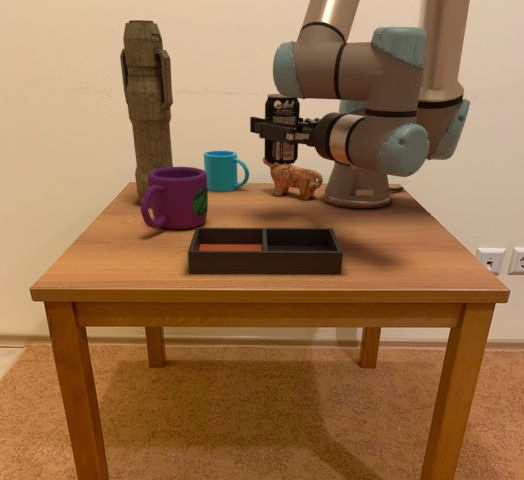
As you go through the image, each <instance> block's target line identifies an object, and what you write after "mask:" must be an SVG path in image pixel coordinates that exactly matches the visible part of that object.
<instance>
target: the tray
mask: <svg viewBox="0 0 524 480" xmlns="http://www.w3.org/2000/svg"><path fill="white" fill-rule="evenodd" d="M343 255H344V252H343V250H342V247H341V245H340V243H339V240H338V238H337V236H336V232H335V231H334V228H333V227H208V226H207V227H202V226H201V227H200V226H197V227H195V228H194V231H193V235H192V238H191V240H190V243H189V248H188V251H187V259H188V260H187V261H188V273H189V274H229V275H230V274H232V275H233V274H235V275H237V274H241V275H242V274H243V275H246V274H247V275H249V274H250V275H251V274H253V275H254V274H255V275H256V274H259V275H260V274H264V275H265V274H268V275H274V274H275V275H341V274H342V267H343Z"/></svg>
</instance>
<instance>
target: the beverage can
mask: <svg viewBox="0 0 524 480" xmlns="http://www.w3.org/2000/svg"><path fill="white" fill-rule="evenodd" d="M266 97H267V99H266V101H265V103H264V119H265V118H266V117H271V120H272V122H276V123H286V124H296V123H298V122H299V117H300V112H301V111H300V110H301V103H300V101H299V98H294V97H288V96H283V95H281V94H280V93H267V96H266ZM264 157H265V159H266V160H267V162H268V163H270V164H277V165H287V164H291V165H293V164H295V163H296V161H297V160H298V159H299V158H298V157H299V144H298V143H295V144H294V145H289V144H286V143H283V142H278V141H273V140H268V139H264Z"/></svg>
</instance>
